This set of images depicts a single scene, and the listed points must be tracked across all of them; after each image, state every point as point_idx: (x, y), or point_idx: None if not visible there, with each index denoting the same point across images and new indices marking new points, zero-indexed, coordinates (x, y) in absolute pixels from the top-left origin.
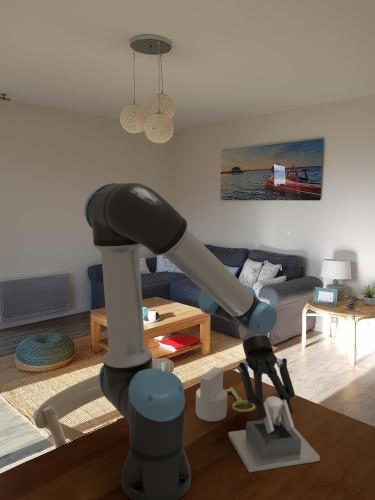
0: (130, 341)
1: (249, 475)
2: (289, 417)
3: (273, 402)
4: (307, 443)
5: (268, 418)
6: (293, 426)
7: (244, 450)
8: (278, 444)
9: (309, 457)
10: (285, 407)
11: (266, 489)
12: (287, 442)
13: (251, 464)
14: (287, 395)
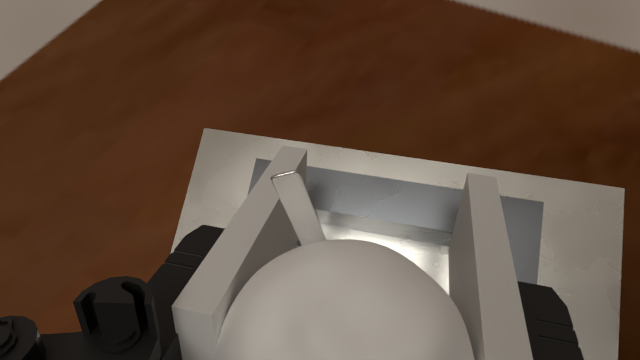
0: None
1: (618, 175)
2: (272, 189)
3: (395, 307)
4: (180, 236)
5: (501, 235)
6: (285, 148)
7: (582, 337)
8: (417, 186)
9: (257, 139)
10: (248, 250)
11: (577, 69)
12: (352, 174)
13: (598, 205)
14: (94, 349)
